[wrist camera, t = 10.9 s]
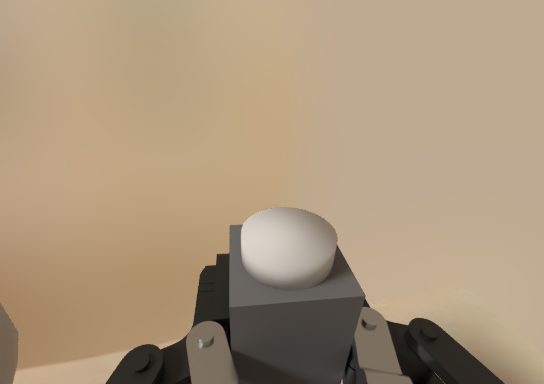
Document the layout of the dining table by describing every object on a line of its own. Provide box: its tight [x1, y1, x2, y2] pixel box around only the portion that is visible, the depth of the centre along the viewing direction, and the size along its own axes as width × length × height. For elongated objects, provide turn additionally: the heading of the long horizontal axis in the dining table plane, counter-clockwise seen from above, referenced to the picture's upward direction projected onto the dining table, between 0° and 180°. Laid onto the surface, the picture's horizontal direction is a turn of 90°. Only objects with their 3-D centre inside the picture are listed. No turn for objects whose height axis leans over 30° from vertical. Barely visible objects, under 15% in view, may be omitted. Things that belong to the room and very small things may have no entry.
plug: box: [229, 207, 365, 384], centre depth 12 cm, size 4×4×15 cm
